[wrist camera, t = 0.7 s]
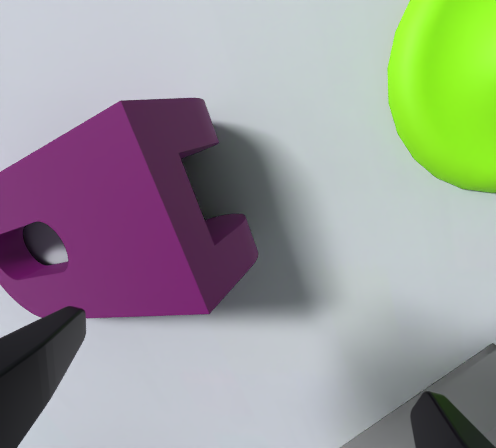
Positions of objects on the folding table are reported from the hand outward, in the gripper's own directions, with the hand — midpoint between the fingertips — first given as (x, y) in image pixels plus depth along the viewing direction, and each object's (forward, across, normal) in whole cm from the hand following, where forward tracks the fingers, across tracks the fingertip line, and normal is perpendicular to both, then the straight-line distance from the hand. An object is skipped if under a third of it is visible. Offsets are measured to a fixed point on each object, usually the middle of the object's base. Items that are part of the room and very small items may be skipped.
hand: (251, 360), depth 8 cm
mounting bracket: (+14, +10, +5) cm, 18 cm away
